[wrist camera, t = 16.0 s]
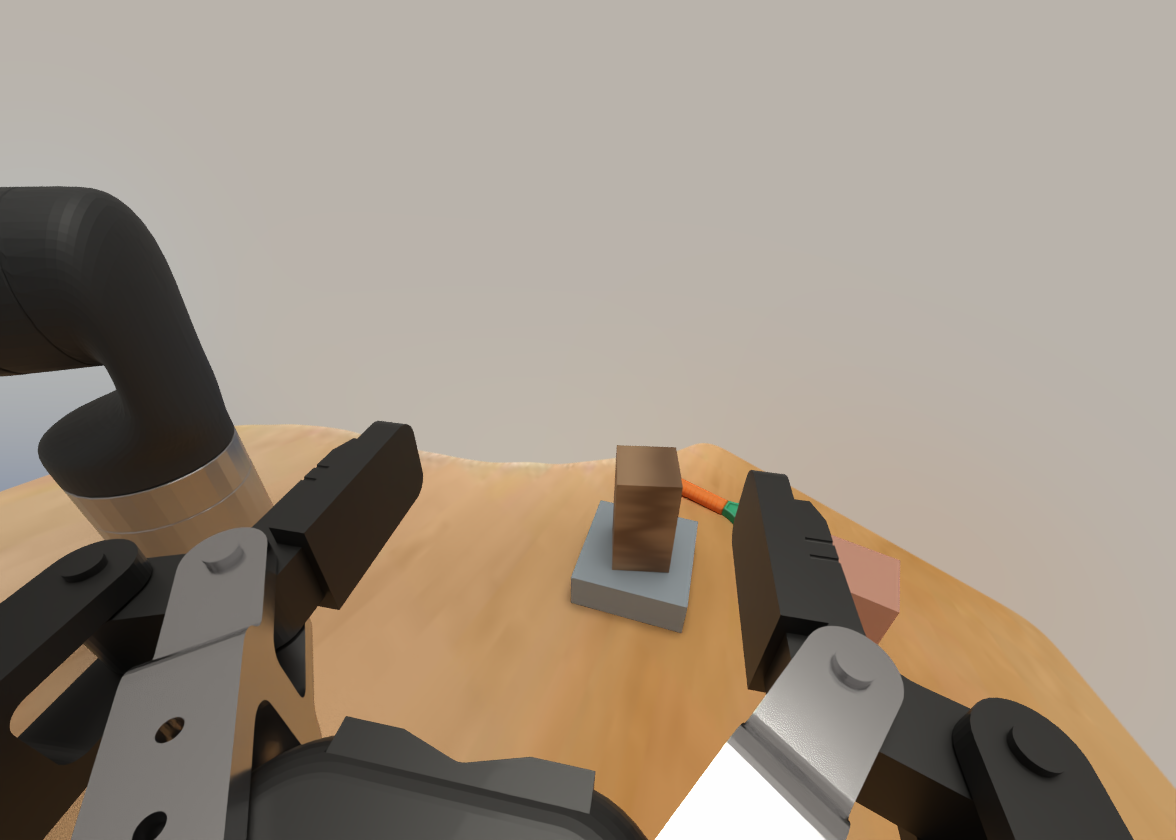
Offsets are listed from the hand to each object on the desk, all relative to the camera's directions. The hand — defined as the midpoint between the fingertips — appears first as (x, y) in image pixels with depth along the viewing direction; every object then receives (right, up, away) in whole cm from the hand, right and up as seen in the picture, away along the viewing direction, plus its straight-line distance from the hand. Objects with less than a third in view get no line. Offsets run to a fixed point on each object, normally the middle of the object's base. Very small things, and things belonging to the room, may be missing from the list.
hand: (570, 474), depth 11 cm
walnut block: (+5, -11, +32) cm, 34 cm away
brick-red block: (+20, -18, +28) cm, 39 cm away
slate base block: (+5, -14, +34) cm, 37 cm away
